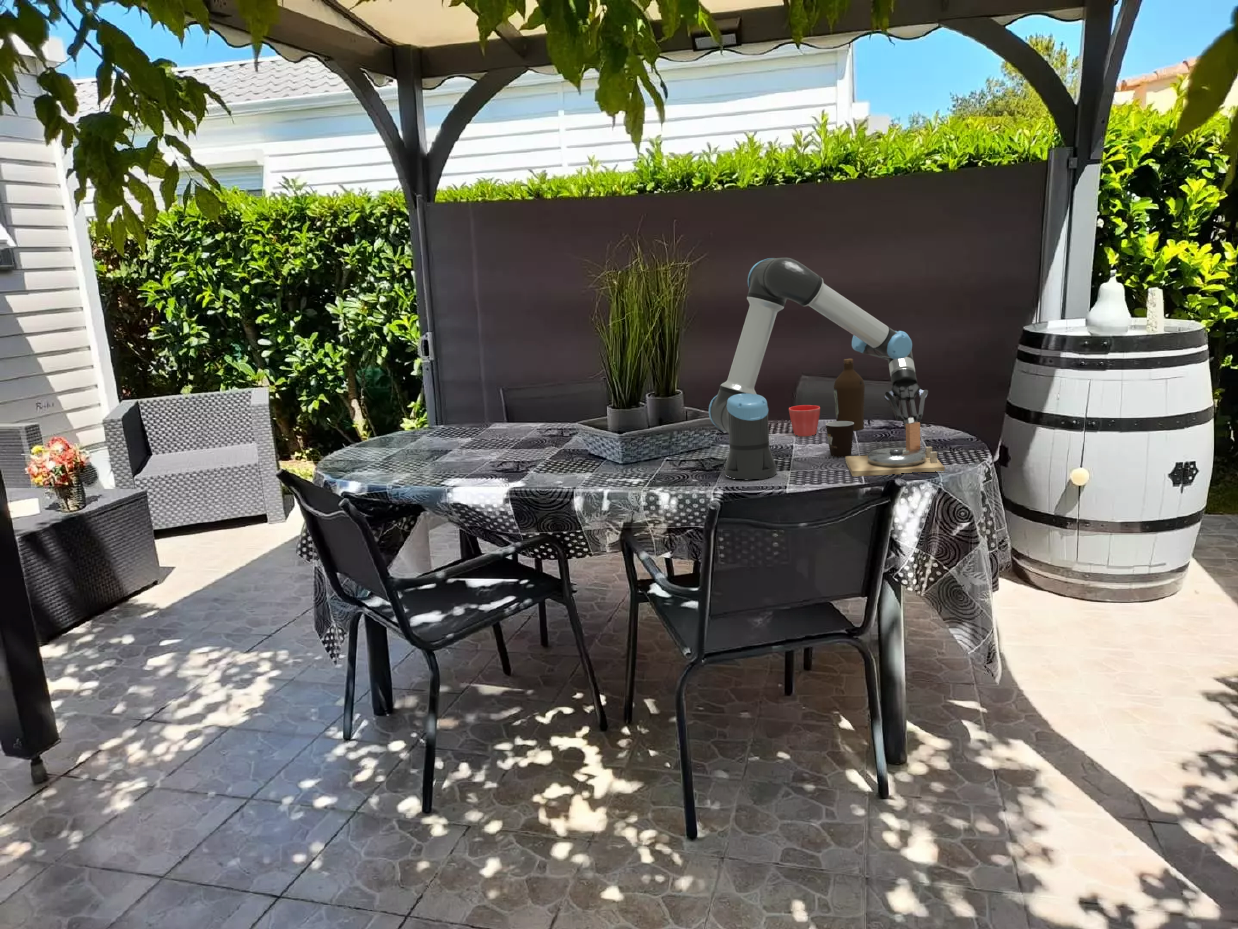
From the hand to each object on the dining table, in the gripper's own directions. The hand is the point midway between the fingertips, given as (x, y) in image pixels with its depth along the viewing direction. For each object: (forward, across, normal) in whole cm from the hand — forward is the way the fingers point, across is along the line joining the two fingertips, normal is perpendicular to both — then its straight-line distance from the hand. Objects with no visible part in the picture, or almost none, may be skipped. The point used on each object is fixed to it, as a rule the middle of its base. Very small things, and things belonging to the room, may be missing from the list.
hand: (913, 438), depth 259 cm
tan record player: (+10, +7, +1) cm, 12 cm away
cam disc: (+9, +6, +2) cm, 11 cm away
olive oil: (-32, +13, -42) cm, 54 cm away
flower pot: (-28, +29, -38) cm, 55 cm away
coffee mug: (-4, +20, -13) cm, 24 cm away
